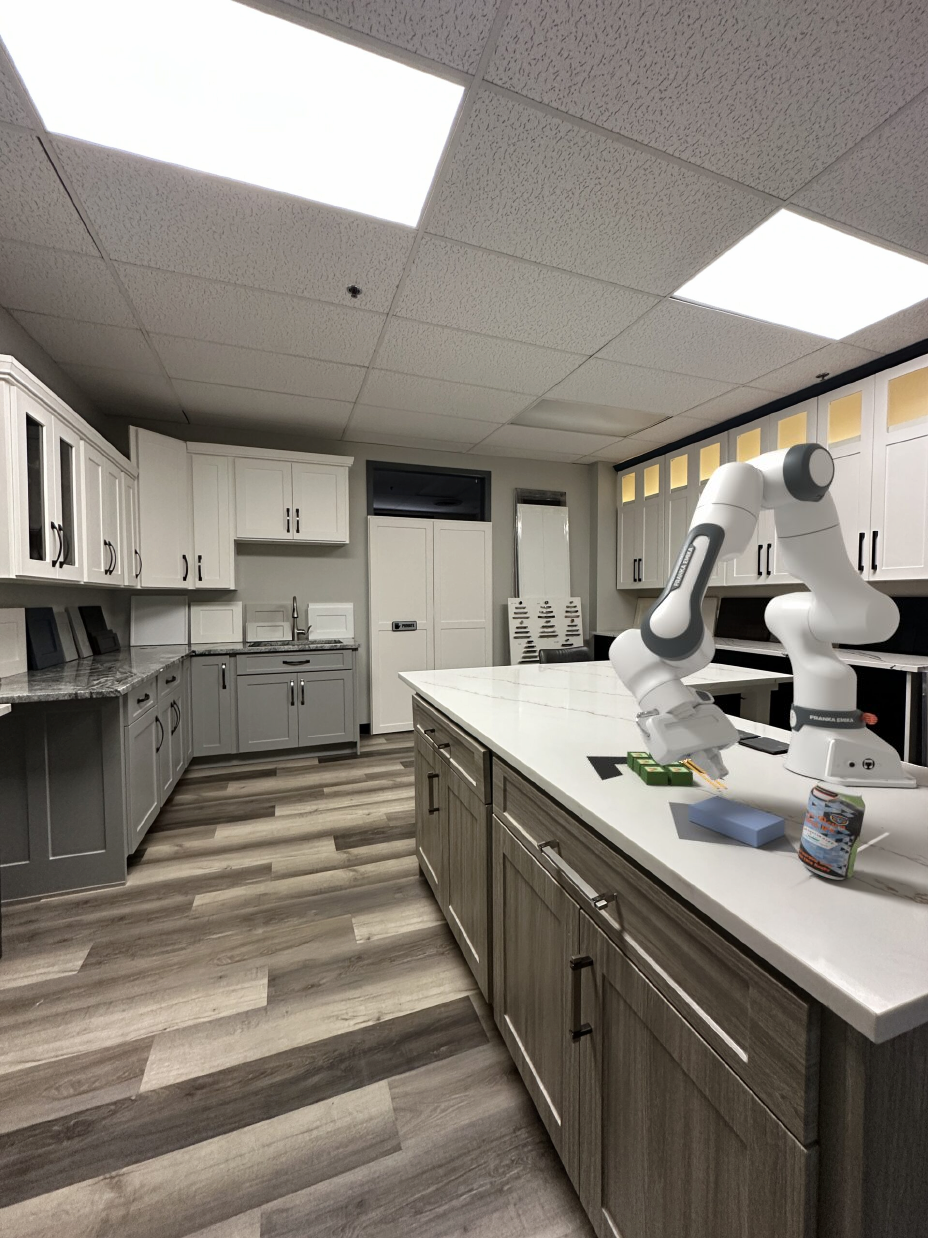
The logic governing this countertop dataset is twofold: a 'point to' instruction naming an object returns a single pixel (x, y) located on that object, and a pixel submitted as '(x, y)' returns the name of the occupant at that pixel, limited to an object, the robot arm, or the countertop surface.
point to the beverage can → (832, 830)
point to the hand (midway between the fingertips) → (721, 777)
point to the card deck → (737, 820)
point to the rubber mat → (704, 834)
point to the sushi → (649, 769)
